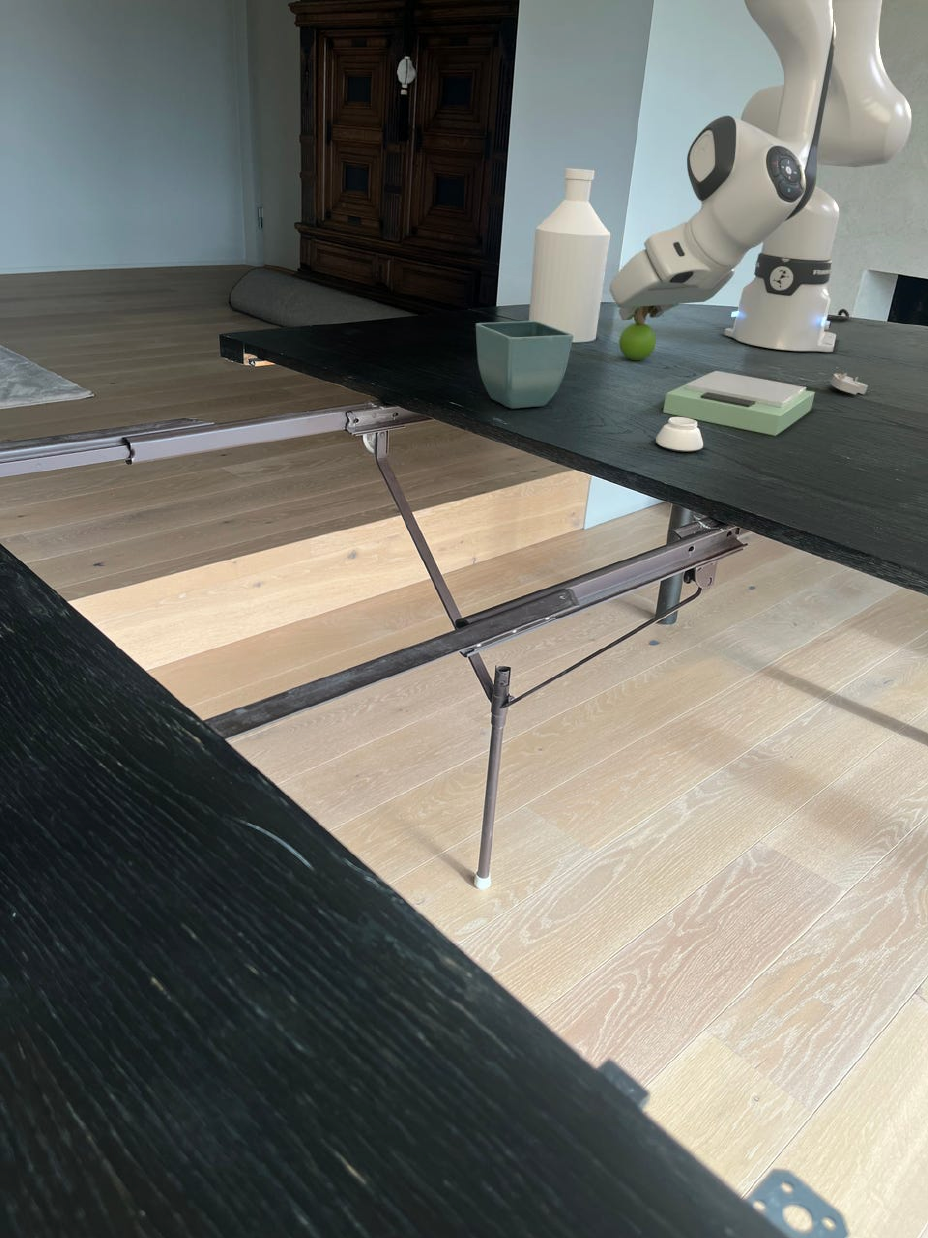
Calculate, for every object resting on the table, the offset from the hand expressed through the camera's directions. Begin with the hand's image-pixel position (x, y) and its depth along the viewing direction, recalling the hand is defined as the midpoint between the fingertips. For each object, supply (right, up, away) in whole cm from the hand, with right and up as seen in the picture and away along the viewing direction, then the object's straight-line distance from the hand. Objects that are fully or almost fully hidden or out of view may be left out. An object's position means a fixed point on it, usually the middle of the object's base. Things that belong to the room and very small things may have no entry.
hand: (637, 314), depth 142 cm
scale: (+9, -19, -21) cm, 30 cm away
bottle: (-10, +2, +17) cm, 20 cm away
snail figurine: (0, -6, +3) cm, 7 cm away
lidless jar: (-2, -26, -37) cm, 46 cm away
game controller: (+25, -13, -7) cm, 29 cm away
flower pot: (-19, -19, -25) cm, 37 cm away
